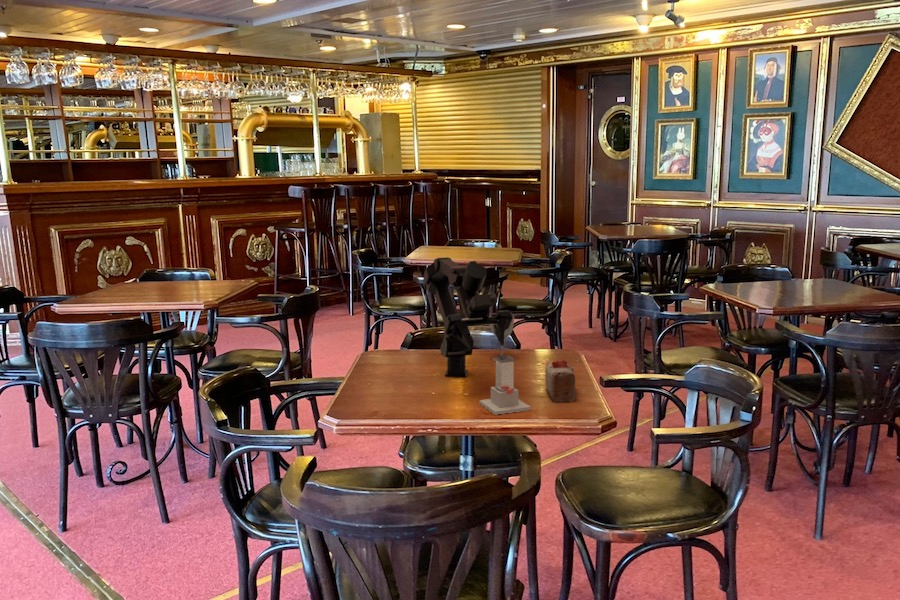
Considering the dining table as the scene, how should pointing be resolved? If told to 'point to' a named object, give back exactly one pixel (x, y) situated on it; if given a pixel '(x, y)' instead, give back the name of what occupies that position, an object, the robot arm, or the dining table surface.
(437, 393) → the dining table surface
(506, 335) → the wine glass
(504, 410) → the stand base
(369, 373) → the dining table surface
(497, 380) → the column
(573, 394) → the food item
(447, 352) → the robot arm
